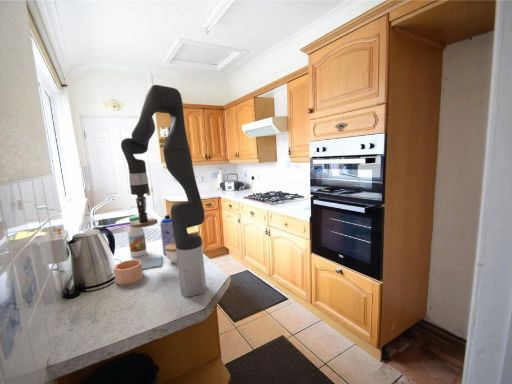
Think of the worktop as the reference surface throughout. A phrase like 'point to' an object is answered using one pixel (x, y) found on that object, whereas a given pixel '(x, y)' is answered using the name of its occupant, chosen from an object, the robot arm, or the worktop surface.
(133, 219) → the milk bottle
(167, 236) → the aerosol can
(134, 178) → the robot arm
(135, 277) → the bowl
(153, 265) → the mat
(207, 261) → the worktop surface
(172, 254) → the lidded jar
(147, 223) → the lid
